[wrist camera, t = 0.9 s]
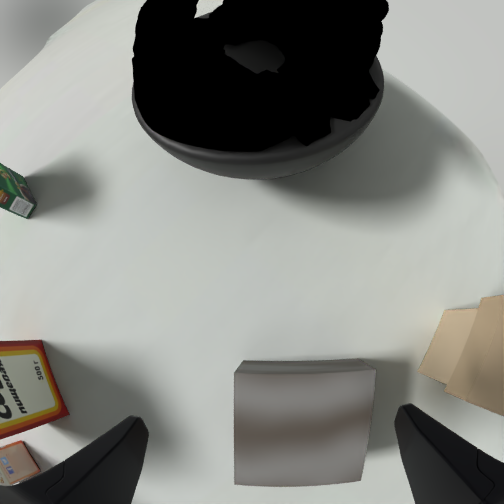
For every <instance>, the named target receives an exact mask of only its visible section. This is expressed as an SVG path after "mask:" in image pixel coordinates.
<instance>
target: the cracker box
mask: <svg viewBox="0 0 504 504" xmlns="http://www.w3.org/2000/svg"><path fill="white" fill-rule="evenodd" d="M38 472H40V470H39V468H38V467H37V465H36V463H35V462H34V460H33V459H32V457H31V456H30V454H29V452H28V451H27V449H26V447H25V445H24V444H23V442H22V441H17V442H14V443H11V444H8V445H5V446H2V447H0V485H3V486H11V485H13V484H15V483H18V482H20V481H22V480H24V479H26V478H28V477H31V476H33V475H35V474H37V473H38Z"/></svg>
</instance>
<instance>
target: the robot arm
mask: <svg viewBox="0 0 504 504" xmlns="http://www.w3.org/2000/svg"><path fill="white" fill-rule="evenodd" d="M395 430H396V434H397V439H398V444H399V449H400V454H401V459H402V462H403V465H404V469H405V472H406V475H407V478H408V481H409V484H410V487H411V491H412V494H413V497H414V501H415V504H504V463H503V462H501V461H499V460H497V459H495V458H493V457H491V456H490V455H488V454H486V453H485V452H483V451H482V450H480V449H477V447H475V446H474V445H472V444H471V443H469V442H468V441H466V440H465V439H463V438H462V437H460V436H459V435H457V434H456V433H454V432H453V431H451V430H450V429H448V428H447V427H445V426H444V425H442V424H441V423H439V422H438V421H436V420H435V419H433V418H432V417H430V416H429V415H428V414H426V413H425V412H423V411H422V410H420V409H419V408H417V407H416V406H415V405H413V404H411V403H408V404H404V405H401V406H400V407H399V409H398V412H397V415H396V418H395ZM148 437H149V432H148V429H147V427H146V425H145V423H144V421H143V419H142V418H141V417H138V416H129V417H127V418H126V419H125V420H123V421H122V422H120V423H119V424H118V425H116V426H115V427H113V428H112V429H111V430H109V431H108V432H106V433H105V434H103V435H102V436H100V437H99V438H98V439H96V440H95V441H93V442H92V443H90V444H89V445H87V446H86V447H84V448H83V449H81V450H80V451H78V452H77V453H75V454H74V455H72V456H70V457H69V458H67V459H66V460H65V461H63V462H61V463H59V464H58V465H56V466H54V467H53V468H51V469H49V470H48V471H46V472H44V473H42V474H40V475H37V476H35V477H33V478H31V479H28V480H26V481H24V482H22V483H19V484H16V485H12V486H3V485H0V504H131V502H132V499H133V496H134V493H135V489H136V486H137V483H138V480H139V477H140V474H141V471H142V467H143V462H144V457H145V452H146V447H147V442H148Z"/></svg>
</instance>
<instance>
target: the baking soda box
mask: <svg viewBox="0 0 504 504" xmlns="http://www.w3.org/2000/svg"><path fill="white" fill-rule="evenodd" d="M67 415H70V414H69V412H68V410H67V408H66V406H65V403H64V401H63V399H62V396H61V394H60V392H59V389H58V387H57V384H56V382H55V379H54V376H53V374H52V371H51V368H50V365H49V362H48V360H47V357H46V353H45V350H44V347H43V344H42V341H41V340H24V341H0V439H3V438H6V437H9V436H12V435H15V434H18V433H21V432H24V431H27V430H30V429H33V428H36V427H38V426H41V425H44V424H46V423H49V422H52V421H54V420H57V419H60V418H62V417H65V416H67Z"/></svg>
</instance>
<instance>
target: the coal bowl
mask: <svg viewBox="0 0 504 504" xmlns="http://www.w3.org/2000/svg"><path fill="white" fill-rule="evenodd" d="M198 1H199V0H147V1H146V2H145V3H144V5H143V6H142V7H141V9H140V11H139V14H138V20H137V23H136V28H135V34H136V37H135V41H134V45H133V52H134V57H133V58H132V65H133V79H134V83H133V88H132V103H133V108H134V111H135V115H136V117H137V119H138V122H139V123H140V125H141V126H142V128H143V129H144V130H145V132H146V133H147V134H148V135H149V136H150V137H151V138H152V139H153V140H154V141H155V142H156V143H157V144H158V145H159V146H161V147H162V148H163V149H164V150H166V151H167V152H168V153H170V154H171V155H173V156H174V157H176V158H177V159H179V160H181V161H183V162H185V163H187V164H189V165H191V166H193V167H195V168H198V169H201V170H203V171H206V172H209V173H212V174H216V175H219V176H225V177H230V178H239V179H272V178H279V177H284V176H289V175H293V174H297V173H300V172H303V171H306V170H309V169H311V168H314V167H316V166H318V165H320V164H322V163H324V162H326V161H328V160H330V159H331V158H333V157H334V156H336V155H337V154H339V153H340V152H342V151H343V150H344V149H346V148H347V147H348V146H349V145H350V144H352V143H353V142H354V141H355V140H356V139H357V138H358V137H359V136H360V135H361V134H362V132H363V131H364V130H365V129H366V128H367V126H368V125H369V123H370V122H371V121H372V119H373V118H374V116H375V114H376V112H377V110H378V108H379V106H380V104H381V101H382V98H383V91H384V77H383V71H382V68H381V65H380V62H379V60H378V58H377V56H376V54H377V52H378V50H379V47H380V42H381V35H382V32H383V24H382V22H381V21H382V20H383V19H384V18H385V17H386V15H387V13H388V11H389V7H388V6H389V5H388V2H387V1H386V0H223V4H222V5H221V6H218V7H217V8H216V9H215V10H214V11H213V12H210V13H207V14H205V15H202V16H200V17H196V18H194V17H195V14H196V12H197V7H196V5H197V3H198Z"/></svg>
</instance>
